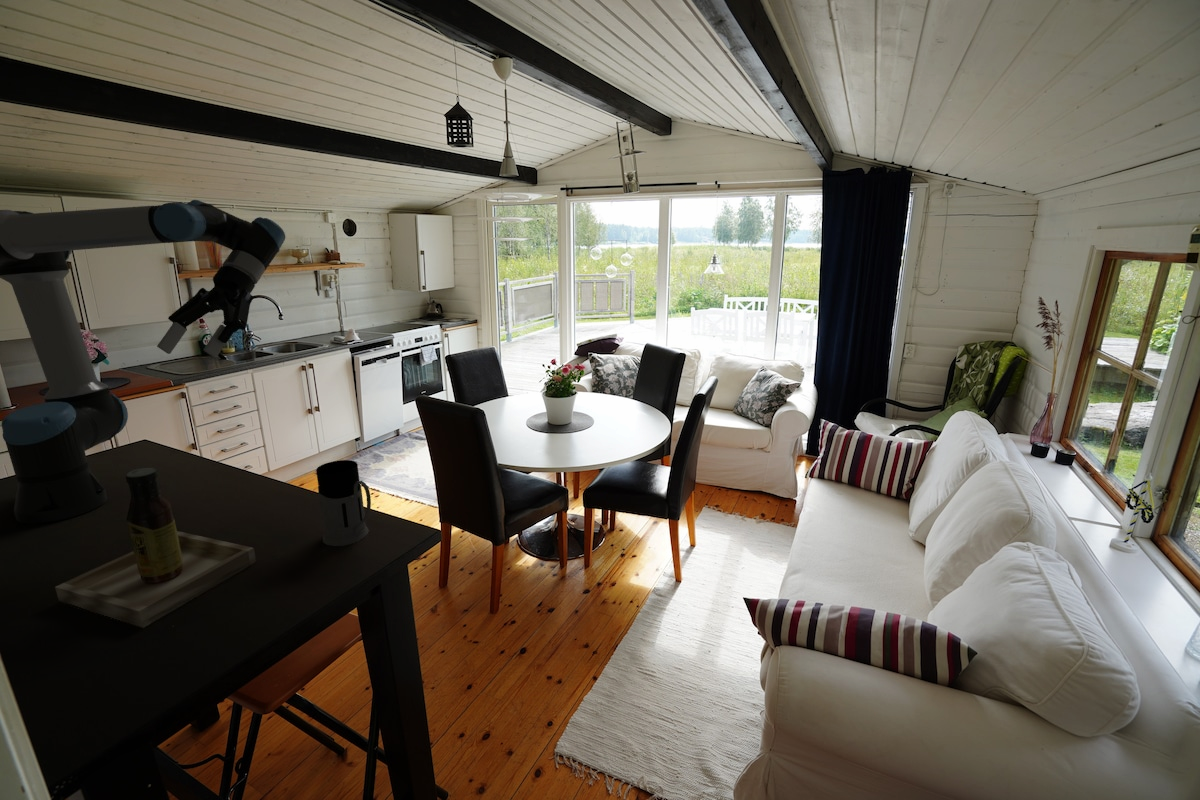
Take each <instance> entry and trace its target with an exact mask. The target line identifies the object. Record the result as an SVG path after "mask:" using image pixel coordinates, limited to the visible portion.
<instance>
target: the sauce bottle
mask: <svg viewBox="0 0 1200 800" xmlns="http://www.w3.org/2000/svg"><path fill="white" fill-rule="evenodd" d="M125 480H126V483H127V484H128V487H129V492H130V501H129V506H128V512H127V515H126V523H127V527H128V532H129V536H130V542H131V545H132V551H134V554H135V559H136V563H137V567H138V571H139V574H140V576H141V579H142V581H144V582H146V583H150V584H155V583H158V582H163V581H166V580H169V579H171V578H174V577H176V576H177V575H179V574H180V573H181V572H182V570H183V564H182V563H183V559H182V554H181V549H180V544H179V539H178V534H177V531H178V530H177V526H176V525H177V524H176V521H175V517H174V514H173V510H172V505H171V503H170V501H169V500H168V499H167V498H166V497H164V496H163V495H162V494H161V490H160V488H159V484H158V473H157V470H156V468H154V467H141V468H136V469H133V470H131V471H129V472H127V474H125Z"/></svg>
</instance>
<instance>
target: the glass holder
mask: <svg viewBox="0 0 1200 800" xmlns="http://www.w3.org/2000/svg"><path fill="white" fill-rule="evenodd" d="M358 465H359V464H358V462H357V461H354V460H348V459H342V460H334V461H329V462H326V463H323V464H321V465H319V466H318V467H316V469H315V472H316V481H317V492H318V501H319V507H320V514H321V521H322V528H323V536H322V539H321V540H322V543H324V544H325V545H327V546H330V545H331V546H332V547H343V546H348V545H352V543H353V544H355V542H356V543H358V542H360V541H362V540H364V539H365V538H366V537H367V536H368V535H369V533H368V532H370V530H369V527H367V524H366V520H367V519H368V518H369V516H370V512H371V507H372V502H371V493H370V489H369V487H368V485H367V484H366V483H365V481H363V480H360V475H359V473H360V472H359V467H358ZM362 487H363V489H364V491H365V496H366V511H365V508H364V507H365V506H364V501H363V500H364V499H363V491H362ZM367 534H368V535H367ZM366 535H367V536H366ZM365 536H366V537H365ZM364 537H365V538H364ZM363 538H364V539H363ZM361 539H362V540H361Z"/></svg>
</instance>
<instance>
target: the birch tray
mask: <svg viewBox="0 0 1200 800" xmlns="http://www.w3.org/2000/svg"><path fill="white" fill-rule="evenodd" d="M177 534H178V539H179V544H180V549H181V554H182V559H183V563H182V564H183V570H182V572H181V573H180V574H179V575H177V576H176V577H174V578H171V579H169V580H166V581H163V582H158V583H155V584H150V583H146V582H144V581H142V579H141V576H140V574H139V571H138V567H137V563H136V559H135V554H134V551H133V550H132V551H131V552H129V553H126V554H124V555H121V556H119V557H117V558H115V559H113V560H111V561H108V562H106V563H104V564H102V565H100V566H98V567H95V568H93V569H90V570H89V571H87V572H85V573H82V574H80V575H77V576H75V577H74V578H71V579H69V580H67V581H65V582H63V583H60V584H59V585H56V586H54V588H55V592H56V595H57V596H56V597H57V599H58V602H59V601H61V602H65V603H68V604H72V605H75V606H78V607H81V608H83V609H86V610H89V611H91V612H90V613H92V612H94V613H93V614H95V613H98V614H101V615H100V616H102V615H104V616H103V617H105V616H108V617H111V618H110V619H112V618H114V619H113V620H115V619H117V620H116V621H118V620H120V621H119V622H122V621H123V622H122V623H125V622H126V624H128V623H129V625H132V626H135V627H139V628H141V629H144V628H146V627H147V626H149V625H151V624H152V623H155V622H156V621H158V620H159V619H161V618H163V617H165V616H166V615H168V614H170V613H172V612H174V611H175V610H177V609H178V608H180V607H182V606H183V605H186V604H187V603H189V602H190V601H192V600H194V599H195V598H198V597H199V596H200V595H201V596H202V594H204V593H206V592H208V591H209V590H211V589H213V588H215V587H216V586H218V585H220V584H221V583H223V582H225V581H227V580H228V579H230V578H231V577H234V576H235V575H237V574H238V573H240V572H242V571H243V570H245V569H247V568H249V567H251V566H253V565H254V564H255V563H257V559H256V553H255V552H256V551H255V548H254V547H251V546H247V545H242V544H237V543H233V542H229V541H225V540H224V541H223V540H221V539H214V538H210V537H206V536H201V535H196V534H193V533H187V532H183V531H178V530H177ZM98 614H97V615H98ZM108 617H107V618H108Z"/></svg>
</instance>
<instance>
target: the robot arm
mask: <svg viewBox="0 0 1200 800" xmlns="http://www.w3.org/2000/svg"><path fill="white" fill-rule="evenodd" d="M285 240H286V233H285V231H284V229H283V228H282V227H281V226H280V225H279V223H276V222H275V221H273V220H272V219H269V218H267V217H261V216H259V217H256V218H254V219H253V220H252V221H251V222H250V221H248V220H244V219H243V218H242V219H241V218H240V217H237V216H235V215H232V214H231V213H229V212H227V211H224V210H222V209H220V208H218V207H216V206H214V205H212V204H210V203H206V202H203V201H202V200H199V199H193V200H190V202H187V203H185V202H177V201H176V202H173V201H172V202H167V203H166V202H165V203H163V204H161V205H160V204H159V205H142V206H127V207H114V208H112V207H111V208H98V209H96V208H95V209H84V210H83V209H81V210H67V211H65V210H64V211H50V212H38V213H37V212H36V213H35V212H32V211H31V212H30V211H26V210H25V211H22V210H12V209H0V279H1V280H4V281H6V282H8V283H9V284H10V285H11V287H12V289H13V292H14V295H15V298H16V301H17V303H18V306H19V308H20V311H21V312H20V313H22V316H23V320H24V323H25V325H26V329H27V331H28V333H29V336H30V338H31V341H32V344H33V347H34V349H35V352H36V355H37V358H38V360H39V361H38V362H39V363H40V367H41V368H42V372H43V374H44V377H45V379H46V383H47V385H48V390H47V392H46V393H45V394H44V396H43V400H44V402H41V403H36V404H33V405H30V406H24V407H21V408H18V409H15V410H13V411H11V412H9V413H8V414H6V415H5V416H4V417H3V418H2V420H1V429H2V438H3V441H4V442H5V445H6V449H7V451H8V455H9V458H10V461H11V465H12V468H13V472H14V475H15V478H16V482H17V490H16V494H15V500H14V506H13V513H14V516H15V520H16V521H17V522H18V523H21V524H27V525H28V524H29V525H30V524H32V525H33V524H34V525H35V524H44V523H51V522H58V521H61V520H66V519H70V518H74V517H77V516H79V515H82V514H83V515H84V514H86V513H89V512H91V511H93V510H95V509H97V508H99V507H101V506H103V504H105V503H106V502H107V500H108V496H107V492H106V490H105V488H104V487H103V485H102V484H101V483H100V482H99V480H98V478H97V477H96V476H95V475H94V474H93V472H92V471H91V470H90V467H89V463H88V458H87V455H86V452H85V451H88V450H90V449H92V448H94V447H95V446H98V445H100V444H102V443H105V442H106V441H109V440H111V439H112V438H114V437H115V436H116V435H118V434H119V433H120V432H121V431H122V430H123V429H124V428H125V426H126V425H127V423H128V418H129V413H128V408H127V406H126V404H125V402H124V401H123V400H122V399H121V398H119V397H117V396H116V394H114V393H111V391H110V388H109V386H108V384H106V383H104V382H102V381H100V380H99V379H98V378H97V376H96V372H95V370H94V367H93V363H92V360H91V357H90V355H89V351H88V348H87V345H86V343H85V340H84V338H83V334H82V331H81V328H80V325H79V322H78V320H77V315H76V313H75V310H74V308H73V305H72V302H71V299H70V296H69V293H68V289H67V287H66V284H65V281H64V280H65V278H66V276H67V275H68V274H69V273H70V269H69V267H68V264H67V260H68V259H70V255H71V254H72V253H73V251H81V250H93V249H105V248H106V249H107V248H119V247H121V248H122V247H129V246H131V247H133V246H141V245H143V246H145V245H158V244H172V243H175V244H176V243H184V242H185V243H186V242H212V243H215V244H217V245H219V246H222V247H225V248H227V249H229V250H231V251H230V253H229V255H227V257H226V258H225V260H224V261H223V263H222V266H220V267H219V269H218V270H217V271H216V273H215V274H214V275H213V277H212V282H213V287H212V288H211V289H210V290H207V289H206V288H204V287H201V288H199V290H198V291H197V292H196V294H195V295H194V296H192V297H191V298H189V299H188V301H186V302H185V303H184V304H183V305H181V306H180V307H179V308H177V309H176V310H175V311H174V312H173V313H171V314H170V315H169V316H168V317H167V320H169V321H170V322H171V323H172V324H171V325H170V327H169V328H168V329H167V331H166V332H165V334H164V335H163V337H162V338H161V340H160V341H159V343H158V344H156V347H157V348H158V349H160V350H162V351H163V352H165V353H166V354H167V355H170V354H172V352H173V350H174V349H176V348H175V347H176V346H177V345H178V343H179V342H180V341H181V339H182V338H183V336H184V335H185V333H186V332H187V331H188V329H187V328H188V327H189V326H190V325H192V324H194V323H195V322H196V321H198V320H199V319H201V318H203V317H204V316H206V315H207V314H209V313H214V312H215V311H222V312H223V313H222V314H223V321H221V323H222V324H220V325H219V326H218V328H217V329H216V330H215V332H214V333H213V335H211V337H210V339H209V341H208V342H207V343H206V345H205V347H204V348H203V351H204V352H205V353H207V354H208V355H210V356H211V357H213V359H214V358H217V357H218V356H219V354H220V353H221V351H222V350H223V348H224V347H225V345H226V344H227V343H228V342H229V340H230V339H231V338H232V336H233V334H234V333H236V332H238V331H239V330H241V331H244V330H246V328H247V325H248V320H249V319H248V318H249V313H250V307H251V304H252V303H253V300H254V298H255V297H254V296H253V295H252V294H251V293H252V292H253V290H254V289H255V287H256V284H257V283H259V281H260V279H261V278H262V276H263V274H264V273H265V272H266V270H267V269H268V268H269V266H270V264H271V263H272V261H273V260H274V258H275V257H276V256H277V255H278V253H279V252H280V249H281V248H282V246H283V244H284V242H285Z"/></svg>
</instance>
